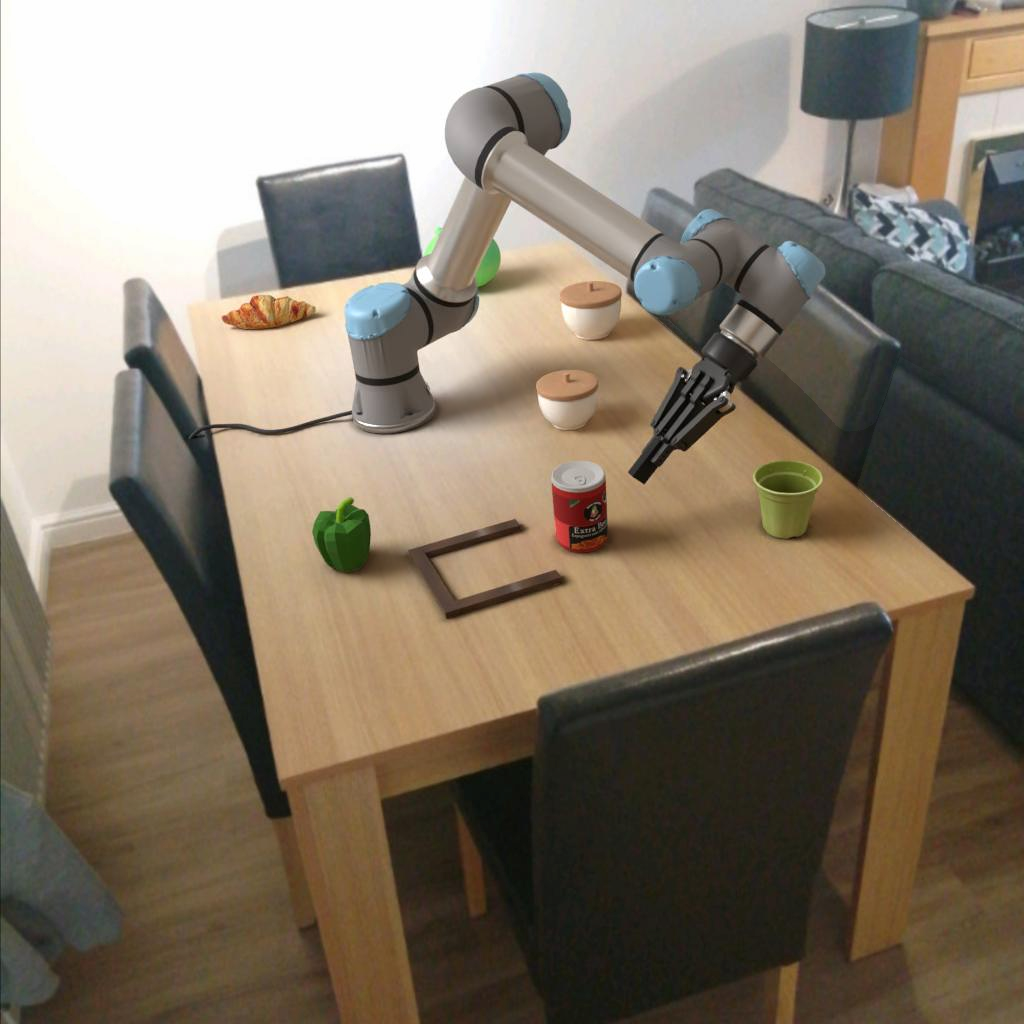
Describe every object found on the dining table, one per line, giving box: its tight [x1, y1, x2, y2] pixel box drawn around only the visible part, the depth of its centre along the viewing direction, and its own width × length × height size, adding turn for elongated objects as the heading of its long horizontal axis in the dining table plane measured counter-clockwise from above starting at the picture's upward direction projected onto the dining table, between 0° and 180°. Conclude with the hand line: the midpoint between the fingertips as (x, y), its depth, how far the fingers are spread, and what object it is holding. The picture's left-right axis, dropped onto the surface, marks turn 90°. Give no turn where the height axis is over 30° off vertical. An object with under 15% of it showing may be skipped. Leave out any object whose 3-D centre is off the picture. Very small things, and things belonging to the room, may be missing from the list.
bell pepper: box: [311, 496, 372, 573], centre depth 149 cm, size 8×8×10 cm
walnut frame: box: [407, 518, 563, 619], centre depth 147 cm, size 17×17×1 cm
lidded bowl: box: [559, 280, 623, 341], centre depth 214 cm, size 13×13×11 cm
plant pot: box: [752, 459, 824, 540], centre depth 147 cm, size 9×9×9 cm
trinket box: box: [535, 369, 599, 431], centre depth 181 cm, size 11×11×9 cm
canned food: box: [550, 460, 609, 554], centre depth 149 cm, size 8×8×11 cm
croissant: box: [221, 294, 317, 330], centre depth 237 cm, size 21×10×8 cm, turn 101°
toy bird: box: [424, 226, 502, 288], centre depth 243 cm, size 18×17×15 cm
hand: (636, 478), depth 150 cm, fingers closed
